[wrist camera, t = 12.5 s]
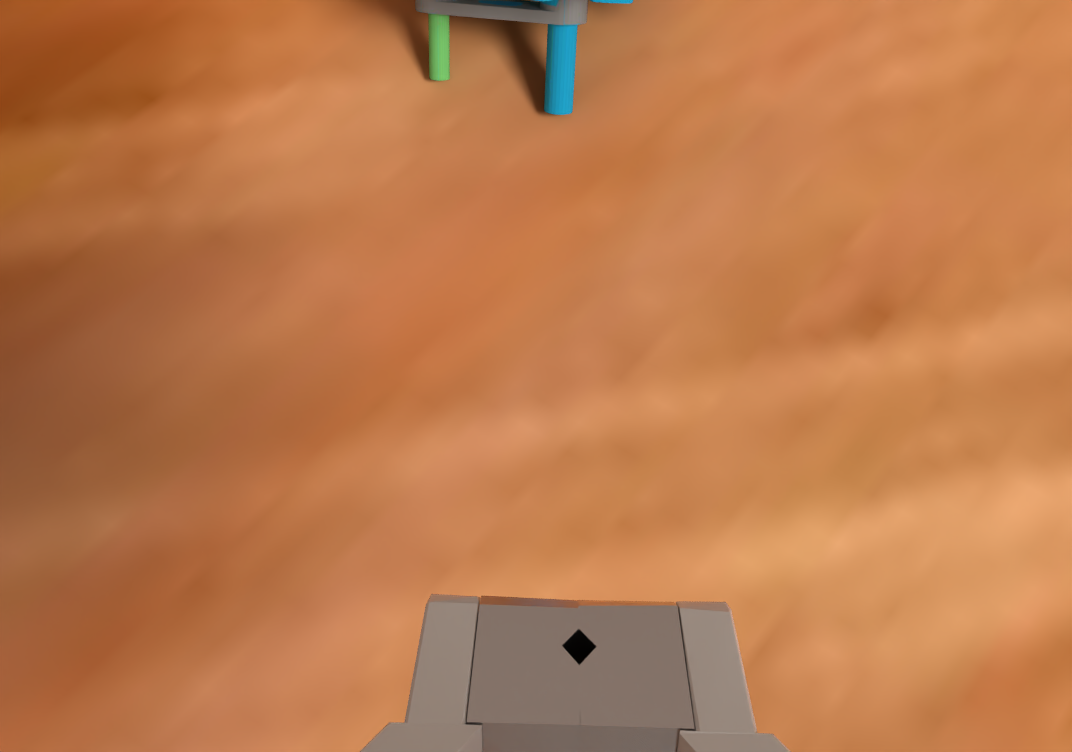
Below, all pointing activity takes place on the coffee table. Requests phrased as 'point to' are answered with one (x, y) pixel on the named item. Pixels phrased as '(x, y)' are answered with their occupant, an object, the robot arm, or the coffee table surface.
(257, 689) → the coffee table surface
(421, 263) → the coffee table surface
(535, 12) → the gear
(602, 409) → the coffee table surface
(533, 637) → the robot arm
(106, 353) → the coffee table surface
